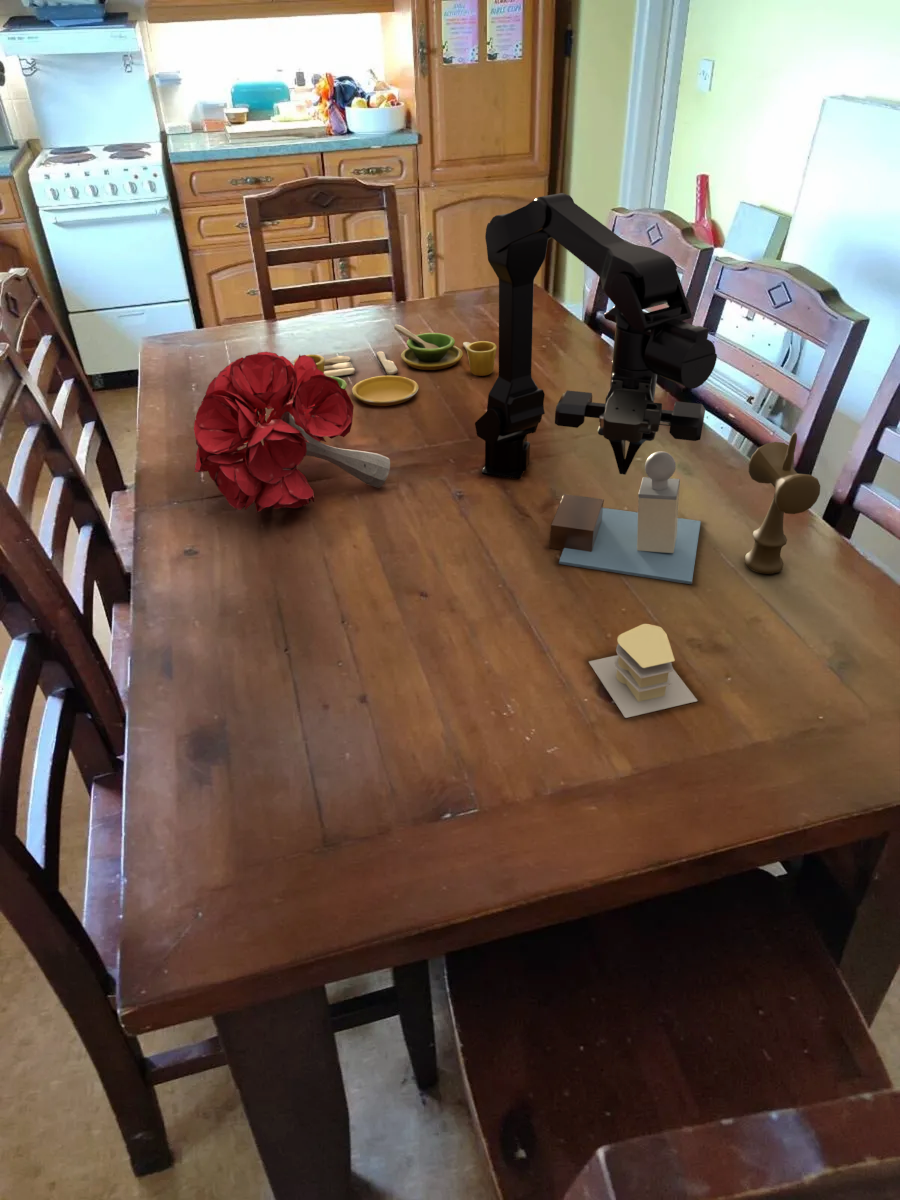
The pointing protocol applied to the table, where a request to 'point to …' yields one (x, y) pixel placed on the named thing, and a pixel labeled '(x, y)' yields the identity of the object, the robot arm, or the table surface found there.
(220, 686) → the table surface
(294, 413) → the bouquet
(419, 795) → the table surface
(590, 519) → the walnut block
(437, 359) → the tableware set
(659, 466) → the salt mill
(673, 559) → the placemat
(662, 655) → the stacked layers on plate
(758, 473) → the kendama
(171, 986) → the table surface
